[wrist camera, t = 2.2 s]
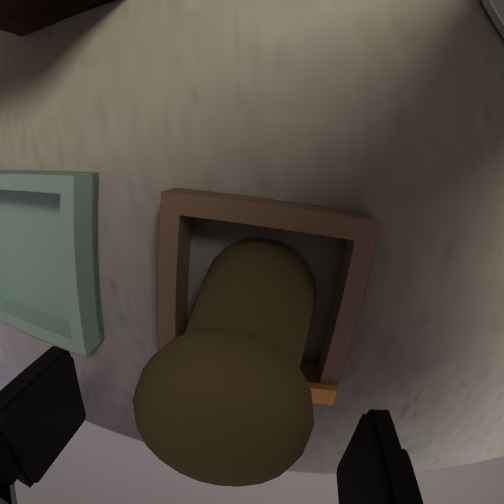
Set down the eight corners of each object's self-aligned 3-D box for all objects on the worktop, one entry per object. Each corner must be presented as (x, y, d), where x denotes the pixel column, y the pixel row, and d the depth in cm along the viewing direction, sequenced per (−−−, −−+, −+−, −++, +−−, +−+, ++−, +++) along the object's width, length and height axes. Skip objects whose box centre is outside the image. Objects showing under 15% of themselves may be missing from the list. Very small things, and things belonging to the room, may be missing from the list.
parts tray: (99, 172, 17) (74, 175, 14) (104, 338, 20) (86, 356, 18) (-13, 170, 18) (-35, 174, 16) (-2, 299, 21) (-20, 310, 19)
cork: (292, 353, 18) (279, 523, 8) (194, 319, 18) (102, 464, 8) (333, 260, 16) (379, 411, 6) (221, 221, 17) (103, 320, 6)
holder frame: (370, 214, 15) (382, 224, 13) (330, 378, 18) (332, 405, 16) (176, 187, 16) (156, 192, 14) (170, 351, 19) (156, 374, 17)
